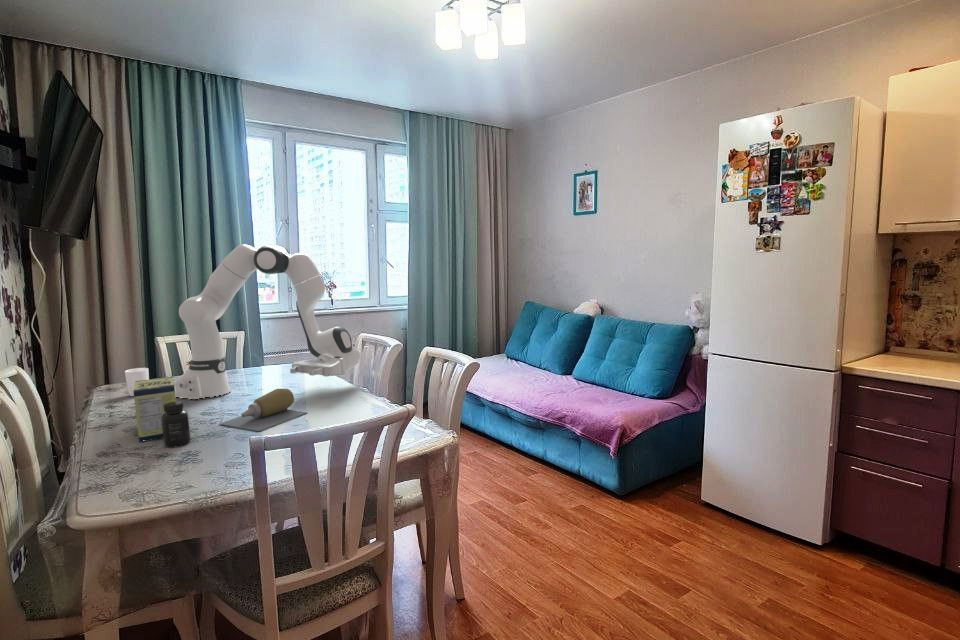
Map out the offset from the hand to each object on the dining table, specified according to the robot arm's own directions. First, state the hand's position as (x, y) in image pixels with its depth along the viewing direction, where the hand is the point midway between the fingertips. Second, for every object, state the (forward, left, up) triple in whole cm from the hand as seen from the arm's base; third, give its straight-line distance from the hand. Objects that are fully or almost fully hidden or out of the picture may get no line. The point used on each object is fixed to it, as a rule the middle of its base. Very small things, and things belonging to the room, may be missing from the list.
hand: (300, 372), depth 192 cm
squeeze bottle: (+1, -10, -6) cm, 12 cm away
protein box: (-26, -38, -11) cm, 48 cm away
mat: (-1, -22, -11) cm, 24 cm away
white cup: (-71, -1, -11) cm, 72 cm away
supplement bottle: (-12, -46, -11) cm, 49 cm away
